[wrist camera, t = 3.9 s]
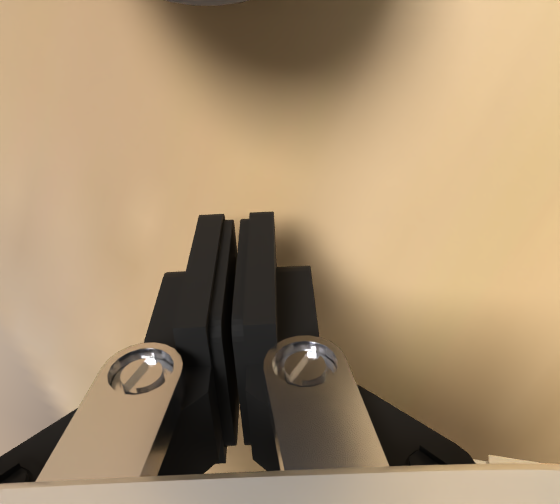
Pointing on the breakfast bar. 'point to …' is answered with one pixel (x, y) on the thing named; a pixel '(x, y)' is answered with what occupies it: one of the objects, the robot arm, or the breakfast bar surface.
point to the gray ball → (206, 2)
